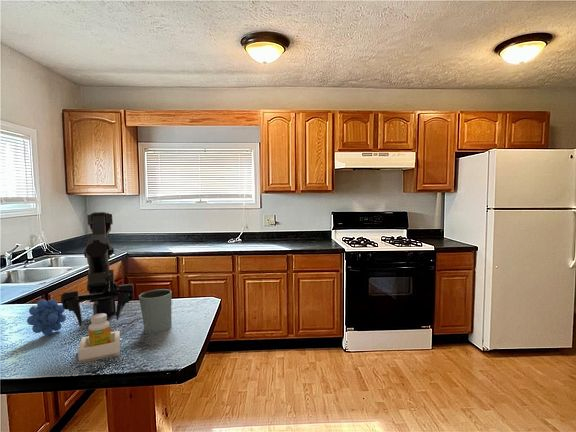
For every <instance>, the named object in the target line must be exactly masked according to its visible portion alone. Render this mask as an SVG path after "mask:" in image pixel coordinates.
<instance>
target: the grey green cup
mask: <svg viewBox="0 0 576 432" xmlns="http://www.w3.org/2000/svg"><path fill="white" fill-rule="evenodd" d="M172 293H173V292H172V290H171V289H166V288H161V289H158V288H157V289H151V290H148V291H144V292H141V293H140V294H139V295H138V299H139V305H140V312H141V317H142V324H143V331H144V332H145V333H146V334H153V335H154V334H160V333H165V332H167V331H169V330H171V328H172V325H173V324H172V311H173V310H172V304H173V303H172V302H173V301H172V298H173V297H172V296H173V295H172Z"/></svg>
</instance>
